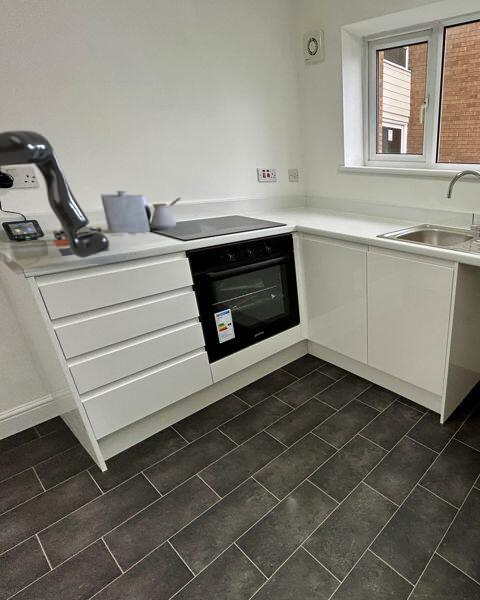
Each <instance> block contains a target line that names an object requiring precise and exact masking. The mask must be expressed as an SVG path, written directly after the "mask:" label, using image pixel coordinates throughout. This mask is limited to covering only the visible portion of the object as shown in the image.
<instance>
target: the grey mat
mask: <svg viewBox="0 0 480 600" xmlns="http://www.w3.org/2000/svg"><path fill="white" fill-rule="evenodd" d="M58 251H59V253H60V254H61V256H62V257H66V256H67V257H68V256H74V255H75V254H73V253H72V251H71V249H70V247H65V248H64V247H63V248H58ZM108 251H110V249H109V248H108V249H107V250H106V251H105V252H108ZM75 256H76V255H75Z"/></svg>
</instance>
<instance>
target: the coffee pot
mask: <svg viewBox="0 0 480 600" xmlns="http://www.w3.org/2000/svg"><path fill="white" fill-rule="evenodd" d="M180 199H181V197H178V198H176V199H175V200H173V201H172V202H171V203H170V204H169V205H168V204H167V203H152V206H153V208H154V210H153V214H152V216H151V220H150V223H151V228H154V229H156V230H157V231H169V230H174V228H175V227H176V226H177V221H176V220H175V219H174V217H173V215H172V214H171V213H170V211H169V208H170V207H172V206H174V205H175V204H176V203H177V202H179V201H180Z"/></svg>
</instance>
